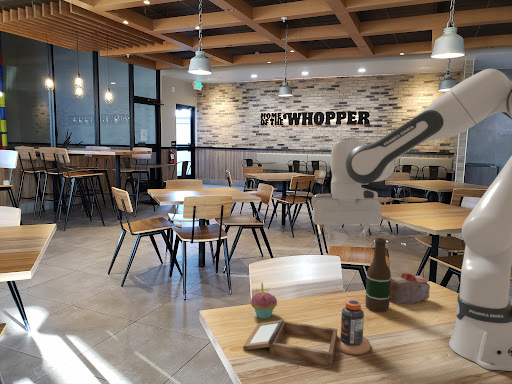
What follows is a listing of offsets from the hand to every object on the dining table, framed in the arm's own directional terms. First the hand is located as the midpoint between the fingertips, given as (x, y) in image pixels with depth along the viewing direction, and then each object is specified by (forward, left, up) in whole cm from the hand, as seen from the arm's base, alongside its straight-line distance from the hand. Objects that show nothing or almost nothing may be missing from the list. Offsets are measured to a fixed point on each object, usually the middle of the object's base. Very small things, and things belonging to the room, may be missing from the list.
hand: (346, 239), depth 114 cm
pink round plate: (-3, +13, -27) cm, 30 cm away
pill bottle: (-3, +12, -26) cm, 29 cm away
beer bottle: (-10, -16, -27) cm, 33 cm away
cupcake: (+25, +3, -27) cm, 37 cm away
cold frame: (+9, +17, -27) cm, 33 cm away
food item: (-20, -26, -27) cm, 43 cm away
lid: (+21, +17, -27) cm, 38 cm away
